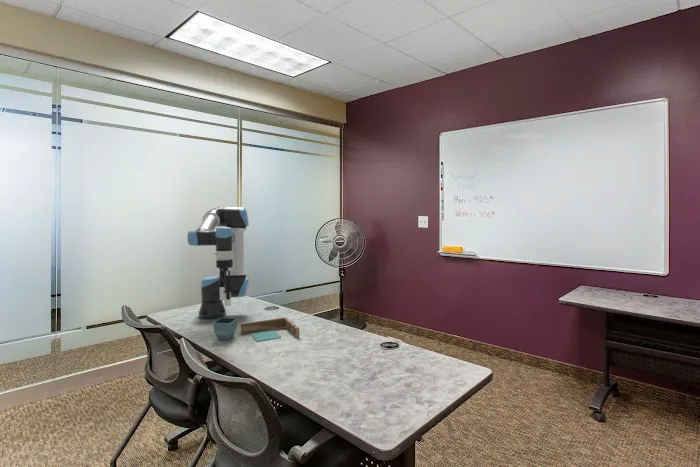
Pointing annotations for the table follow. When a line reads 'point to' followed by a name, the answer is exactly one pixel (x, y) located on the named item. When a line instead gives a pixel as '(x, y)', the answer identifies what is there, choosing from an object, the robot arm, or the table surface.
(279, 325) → the corner arena
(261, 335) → the pad
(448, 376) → the table surface
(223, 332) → the flower pot
